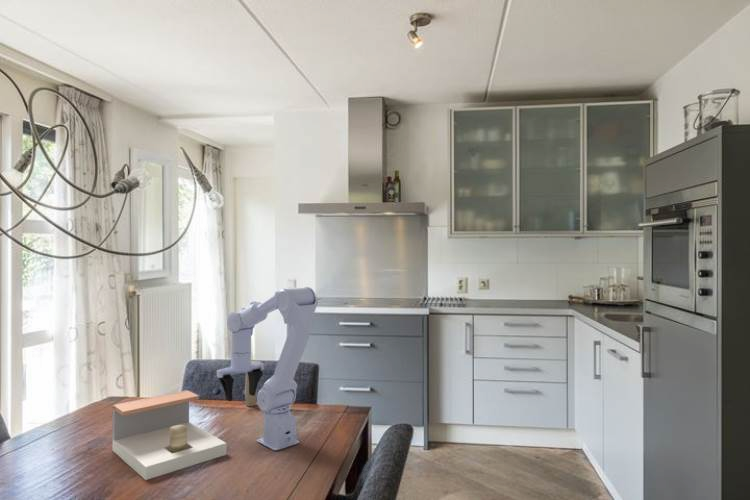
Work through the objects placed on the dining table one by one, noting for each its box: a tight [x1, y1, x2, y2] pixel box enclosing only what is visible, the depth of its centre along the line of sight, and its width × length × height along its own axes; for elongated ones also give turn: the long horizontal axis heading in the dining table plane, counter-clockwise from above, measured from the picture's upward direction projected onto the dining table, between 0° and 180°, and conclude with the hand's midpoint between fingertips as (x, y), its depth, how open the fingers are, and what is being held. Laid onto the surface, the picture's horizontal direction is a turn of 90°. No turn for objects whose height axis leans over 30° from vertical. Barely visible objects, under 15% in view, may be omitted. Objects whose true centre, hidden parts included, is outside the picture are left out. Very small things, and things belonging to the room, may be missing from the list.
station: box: [111, 389, 227, 481], centre depth 124 cm, size 24×20×12 cm
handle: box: [244, 360, 261, 407], centre depth 164 cm, size 5×6×15 cm
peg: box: [170, 425, 187, 453], centre depth 120 cm, size 4×4×8 cm
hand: (240, 397), depth 142 cm, fingers open, 7 cm apart
